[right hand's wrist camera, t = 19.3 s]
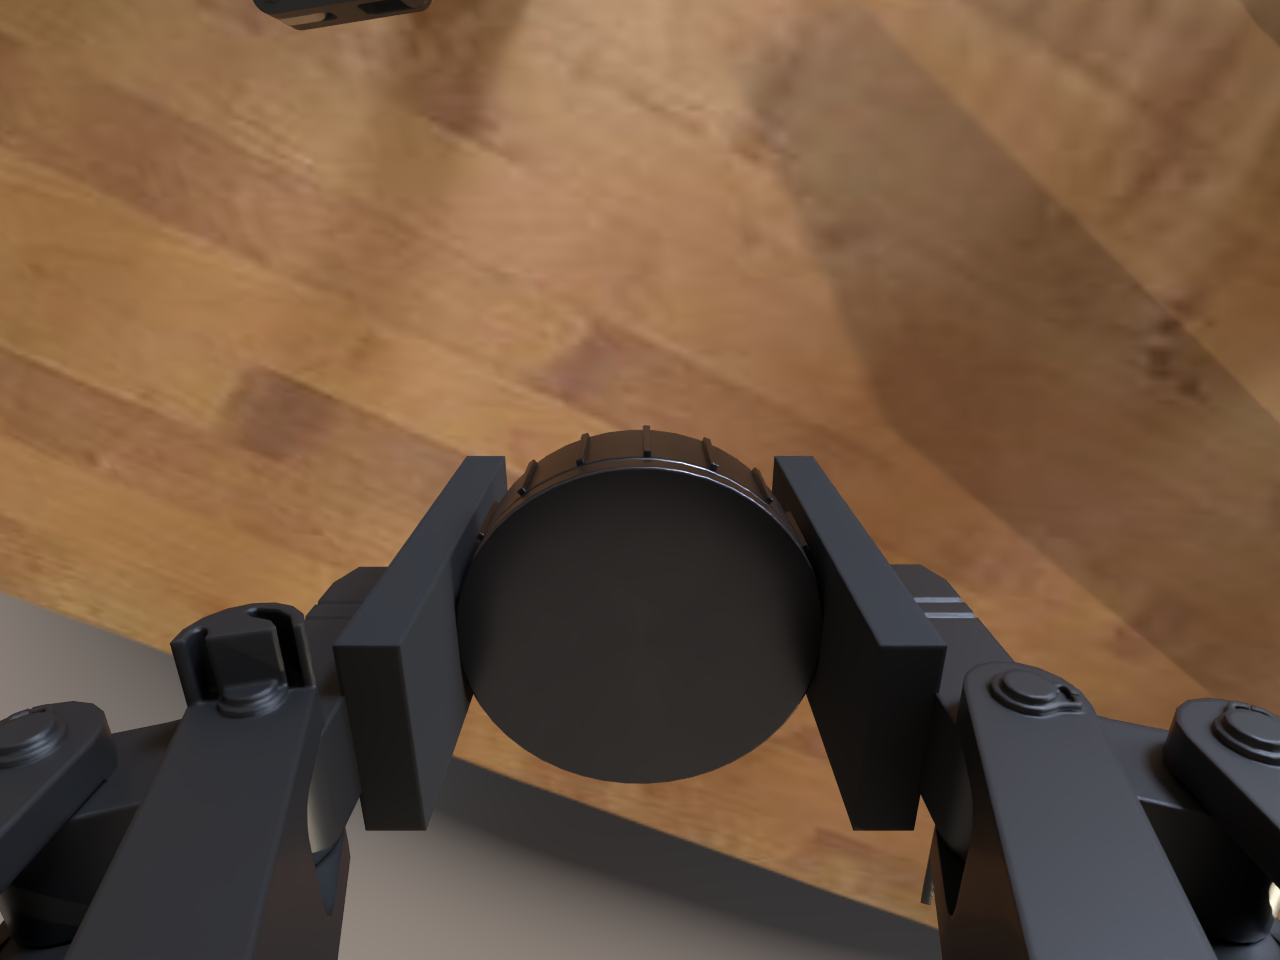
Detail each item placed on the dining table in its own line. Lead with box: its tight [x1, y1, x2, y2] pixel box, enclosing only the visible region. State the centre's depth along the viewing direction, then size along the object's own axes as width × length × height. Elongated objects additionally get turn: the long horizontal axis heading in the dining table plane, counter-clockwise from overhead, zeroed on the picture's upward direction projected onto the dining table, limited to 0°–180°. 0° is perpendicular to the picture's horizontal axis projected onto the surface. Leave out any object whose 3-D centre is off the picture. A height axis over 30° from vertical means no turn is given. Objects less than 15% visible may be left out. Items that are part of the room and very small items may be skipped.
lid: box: [456, 426, 824, 784], centre depth 11 cm, size 6×6×2 cm
